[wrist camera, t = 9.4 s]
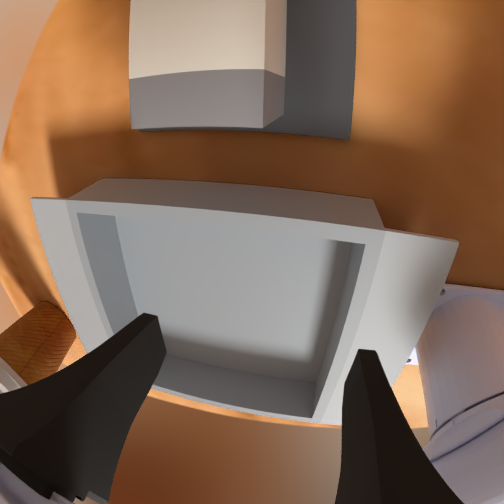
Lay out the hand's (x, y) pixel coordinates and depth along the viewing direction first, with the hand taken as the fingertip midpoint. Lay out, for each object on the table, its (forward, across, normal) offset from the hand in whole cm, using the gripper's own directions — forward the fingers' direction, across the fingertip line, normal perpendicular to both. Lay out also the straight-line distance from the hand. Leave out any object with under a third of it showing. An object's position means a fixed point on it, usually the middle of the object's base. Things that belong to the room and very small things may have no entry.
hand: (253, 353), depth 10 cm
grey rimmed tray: (+9, +4, +6) cm, 12 cm away
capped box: (+9, +3, -12) cm, 15 cm away
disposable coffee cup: (+10, +26, +15) cm, 32 cm away
